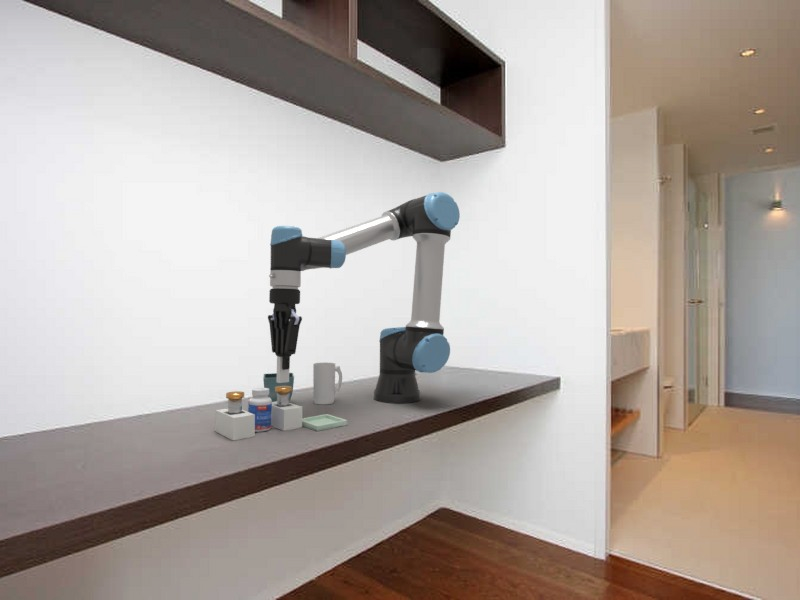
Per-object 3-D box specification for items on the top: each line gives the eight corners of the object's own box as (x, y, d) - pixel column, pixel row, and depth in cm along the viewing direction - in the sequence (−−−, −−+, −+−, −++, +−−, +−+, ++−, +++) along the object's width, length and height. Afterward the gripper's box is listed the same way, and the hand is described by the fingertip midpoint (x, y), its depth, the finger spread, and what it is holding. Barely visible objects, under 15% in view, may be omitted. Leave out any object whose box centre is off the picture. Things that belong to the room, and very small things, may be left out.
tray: (327, 418, 125) (327, 413, 125) (347, 425, 118) (347, 420, 118) (297, 424, 119) (297, 419, 119) (317, 431, 112) (317, 426, 112)
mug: (320, 405, 140) (320, 365, 140) (308, 402, 145) (309, 363, 145) (347, 401, 147) (348, 363, 147) (335, 398, 152) (336, 361, 152)
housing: (281, 419, 123) (282, 400, 123) (302, 427, 116) (302, 407, 116) (215, 431, 111) (215, 410, 111) (233, 440, 103) (233, 417, 104)
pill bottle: (256, 433, 109) (257, 391, 109) (243, 429, 113) (243, 389, 113) (275, 429, 114) (276, 388, 114) (262, 425, 117) (262, 386, 117)
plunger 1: (239, 420, 112) (239, 390, 112) (246, 423, 109) (247, 393, 109) (222, 422, 109) (223, 392, 109) (230, 426, 106) (230, 395, 106)
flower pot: (262, 408, 135) (263, 377, 135) (263, 402, 144) (263, 373, 144) (293, 407, 138) (294, 376, 138) (292, 401, 146) (292, 372, 146)
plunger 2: (286, 412, 120) (286, 385, 120) (294, 415, 117) (294, 387, 117) (271, 414, 118) (272, 386, 118) (279, 417, 115) (280, 389, 115)
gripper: (259, 288, 120) (256, 380, 120) (284, 287, 110) (282, 387, 110) (285, 289, 125) (283, 377, 125) (312, 288, 116) (309, 384, 115)
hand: (282, 382), depth 117 cm, fingers closed
